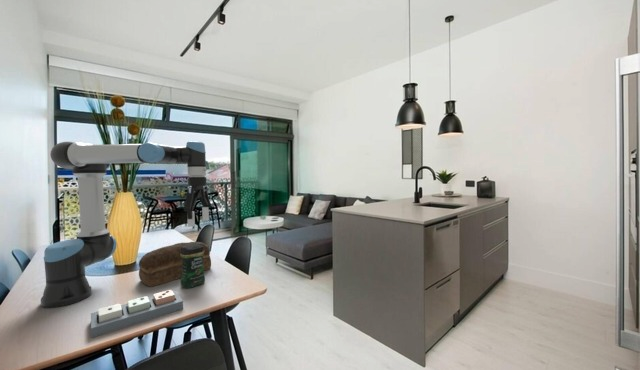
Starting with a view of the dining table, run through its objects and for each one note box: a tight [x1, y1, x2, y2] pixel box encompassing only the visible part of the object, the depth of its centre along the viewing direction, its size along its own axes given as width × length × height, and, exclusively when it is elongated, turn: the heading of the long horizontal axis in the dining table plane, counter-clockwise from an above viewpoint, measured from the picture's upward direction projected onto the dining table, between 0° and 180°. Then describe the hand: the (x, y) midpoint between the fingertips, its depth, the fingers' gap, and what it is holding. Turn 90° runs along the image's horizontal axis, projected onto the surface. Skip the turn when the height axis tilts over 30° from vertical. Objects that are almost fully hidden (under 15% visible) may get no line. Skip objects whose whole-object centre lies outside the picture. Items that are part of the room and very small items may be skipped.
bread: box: [138, 241, 212, 288], centre depth 134 cm, size 15×32×16 cm, turn 141°
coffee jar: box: [180, 243, 206, 289], centre depth 121 cm, size 10×8×19 cm
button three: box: [152, 289, 175, 306], centre depth 100 cm, size 6×6×3 cm
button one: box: [97, 303, 122, 322], centre depth 90 cm, size 6×6×3 cm
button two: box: [126, 295, 150, 314], centre depth 95 cm, size 6×6×3 cm
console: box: [90, 290, 184, 338], centre depth 95 cm, size 26×12×3 cm, turn 131°
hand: (198, 223), depth 120 cm, fingers open, 13 cm apart
